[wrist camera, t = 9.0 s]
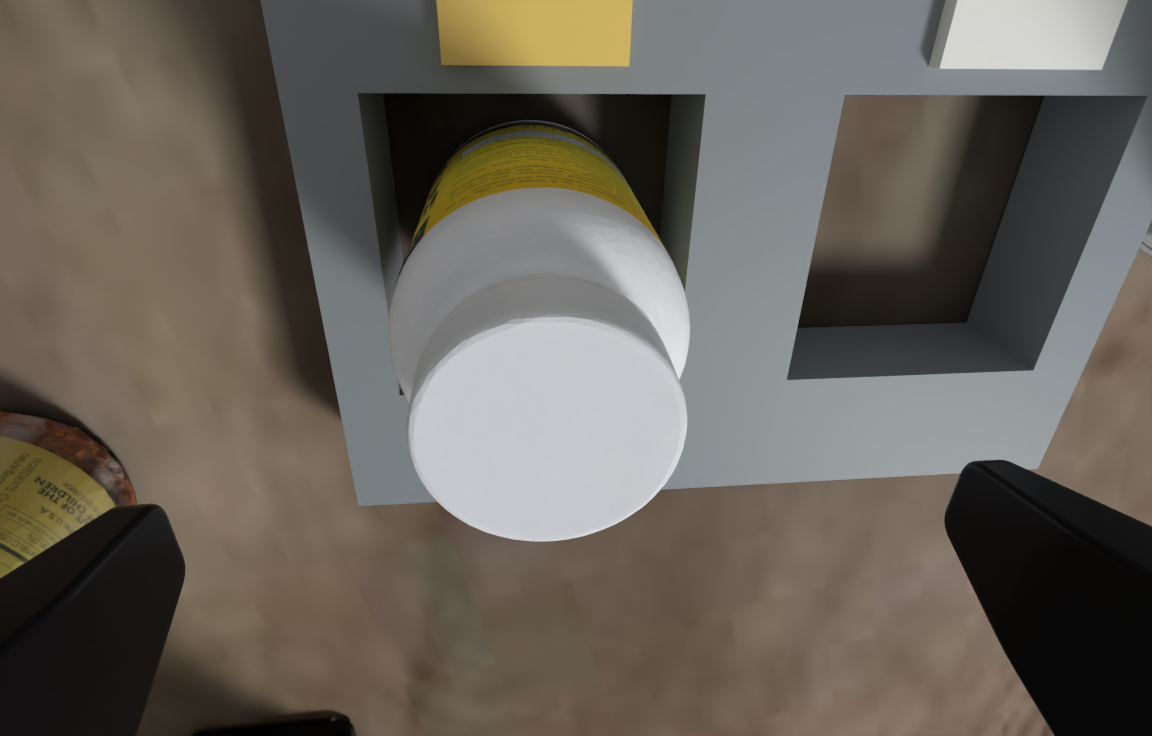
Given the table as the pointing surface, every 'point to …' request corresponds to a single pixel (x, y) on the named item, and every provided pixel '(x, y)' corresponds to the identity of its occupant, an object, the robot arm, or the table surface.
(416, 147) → the table surface
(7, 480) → the sauce bottle
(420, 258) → the supplement bottle
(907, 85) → the socket board
